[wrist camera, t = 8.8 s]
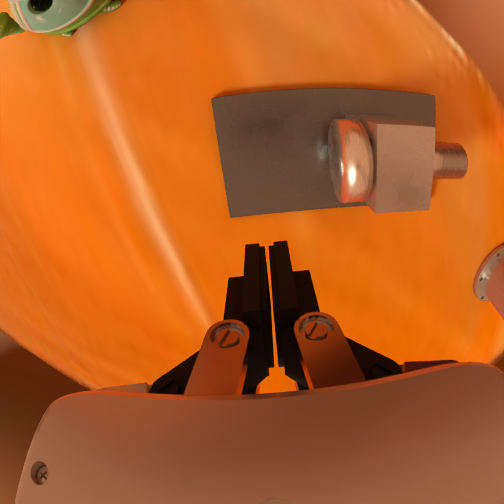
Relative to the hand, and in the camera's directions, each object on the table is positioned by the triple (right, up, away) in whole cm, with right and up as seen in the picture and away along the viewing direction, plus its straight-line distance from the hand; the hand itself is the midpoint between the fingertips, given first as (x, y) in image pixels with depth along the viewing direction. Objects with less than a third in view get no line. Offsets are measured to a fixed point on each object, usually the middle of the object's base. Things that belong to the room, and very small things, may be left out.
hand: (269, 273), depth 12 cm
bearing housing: (+9, +13, +18) cm, 24 cm away
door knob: (+14, +12, +16) cm, 25 cm away
